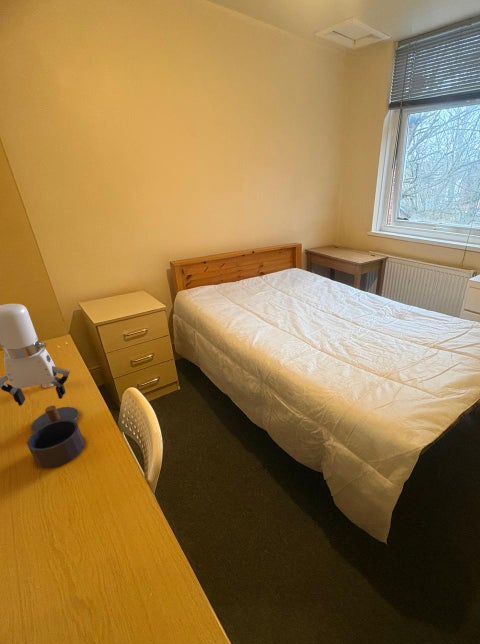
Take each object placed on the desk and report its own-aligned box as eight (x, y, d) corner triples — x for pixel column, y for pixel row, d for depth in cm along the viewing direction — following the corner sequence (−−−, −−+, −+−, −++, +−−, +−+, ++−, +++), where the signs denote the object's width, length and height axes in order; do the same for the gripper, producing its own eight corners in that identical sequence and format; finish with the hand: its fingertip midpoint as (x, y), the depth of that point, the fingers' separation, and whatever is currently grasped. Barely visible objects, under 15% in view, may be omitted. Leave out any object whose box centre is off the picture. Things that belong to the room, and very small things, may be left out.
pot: (30, 473, 83) (21, 455, 80) (42, 443, 92) (34, 425, 89) (81, 460, 86) (73, 442, 84) (87, 432, 96) (81, 415, 93)
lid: (27, 441, 92) (19, 426, 90) (38, 415, 102) (32, 401, 99) (75, 430, 96) (69, 415, 94) (82, 406, 106) (77, 392, 104)
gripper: (63, 338, 93) (78, 386, 101) (-12, 347, 87) (10, 397, 94) (57, 350, 87) (74, 400, 95) (-25, 360, 81) (0, 413, 88)
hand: (42, 399), depth 95 cm, fingers open, 9 cm apart
